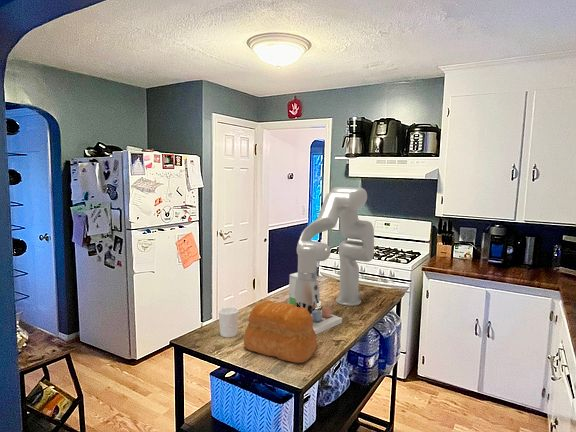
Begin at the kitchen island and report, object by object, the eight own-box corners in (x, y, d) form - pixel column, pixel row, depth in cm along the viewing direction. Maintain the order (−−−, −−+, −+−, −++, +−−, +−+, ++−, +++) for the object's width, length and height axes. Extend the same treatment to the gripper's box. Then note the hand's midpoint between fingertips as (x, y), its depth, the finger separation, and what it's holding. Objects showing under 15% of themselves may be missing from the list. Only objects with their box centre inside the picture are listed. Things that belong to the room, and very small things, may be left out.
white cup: (230, 328, 163) (230, 305, 162) (242, 334, 157) (242, 310, 156) (215, 334, 157) (214, 310, 156) (226, 340, 152) (226, 315, 151)
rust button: (325, 314, 171) (325, 305, 171) (332, 317, 168) (332, 308, 168) (319, 316, 168) (319, 308, 168) (326, 319, 165) (327, 310, 165)
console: (320, 318, 175) (320, 310, 175) (342, 325, 167) (342, 318, 166) (289, 330, 161) (289, 322, 161) (311, 340, 153) (311, 331, 152)
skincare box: (288, 305, 192) (288, 274, 190) (296, 301, 197) (297, 271, 195) (300, 309, 186) (301, 277, 184) (309, 305, 191) (310, 275, 189)
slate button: (315, 318, 166) (316, 309, 166) (323, 321, 164) (323, 312, 163) (309, 321, 164) (309, 311, 163) (316, 323, 161) (317, 314, 160)
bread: (302, 367, 132) (303, 319, 130) (239, 349, 144) (239, 305, 142) (321, 349, 145) (322, 304, 143) (262, 334, 158) (262, 293, 156)
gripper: (327, 277, 154) (326, 322, 156) (299, 270, 164) (298, 312, 166) (315, 281, 149) (313, 327, 151) (287, 273, 159) (286, 316, 161)
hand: (306, 319), depth 159 cm, fingers closed
